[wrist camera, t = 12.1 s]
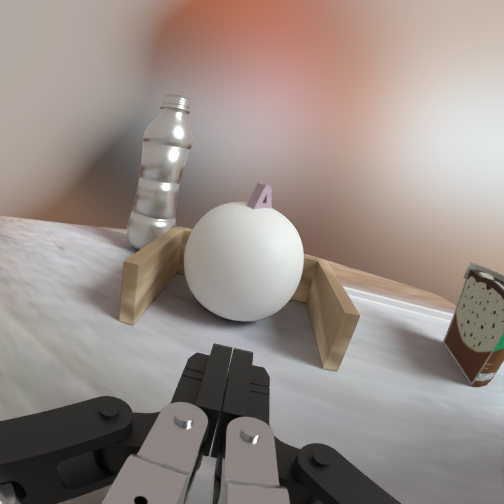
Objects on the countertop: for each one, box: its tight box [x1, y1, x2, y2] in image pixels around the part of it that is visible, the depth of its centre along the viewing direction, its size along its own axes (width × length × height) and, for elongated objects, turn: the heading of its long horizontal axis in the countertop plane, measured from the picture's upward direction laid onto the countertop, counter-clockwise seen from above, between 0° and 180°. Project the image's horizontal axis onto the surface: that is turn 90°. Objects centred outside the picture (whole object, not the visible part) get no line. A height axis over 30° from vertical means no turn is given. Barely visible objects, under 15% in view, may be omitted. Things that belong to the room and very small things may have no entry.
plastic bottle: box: [127, 94, 193, 250], centre depth 38 cm, size 6×7×20 cm
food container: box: [443, 262, 504, 387], centre depth 26 cm, size 12×6×10 cm, turn 169°
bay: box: [120, 226, 360, 371], centre depth 29 cm, size 17×14×5 cm
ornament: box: [184, 183, 304, 321], centre depth 28 cm, size 10×10×12 cm
